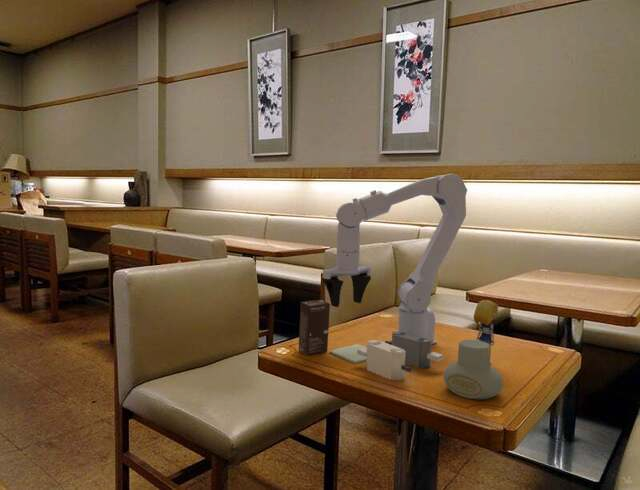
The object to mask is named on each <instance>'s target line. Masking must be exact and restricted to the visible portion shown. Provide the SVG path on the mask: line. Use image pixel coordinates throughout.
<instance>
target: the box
mask: <svg viewBox="0 0 640 490" xmlns="http://www.w3.org/2000/svg"><path fill="white" fill-rule="evenodd" d="M299 308H300V311H299V330H298V333H299V334H298V351H299V352H301V353H302V354H304V355H306V356H309V355H313V354H319V353H325V352H328V345H329V344H328V343H329V328H330V310H331V309H330V308H331V303H330V302H327V301H325V300H322V299H316V300H308V301H307V300H306V301H301V302H300V307H299Z"/></svg>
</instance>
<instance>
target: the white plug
mask: <svg viewBox="0 0 640 490" xmlns="http://www.w3.org/2000/svg"><path fill="white" fill-rule="evenodd" d="M366 347H367V349H366V348H361V349H357V354H359V355H361V356H364V357H366V361H365V362H366V363H365V369H366V370H367V371H368V372H370V371H371V372H370V373H373V374H375V373H376V375H377V376H380V375H381V377H383V378H385V379H387V378H388V379H387V380H390V381H395V380H398V381H399V380H401V381H404V380H405V372H408V373H412V370H413V368H412V367H409V366H407V365H406V364H405V350H404V349H401V348H398V347H396V346H393V345H390V344H387V343H385V341H381V340H376V339H372V340H371V339H370V340H368V341H366ZM391 379H392V380H391ZM403 379H404V380H403ZM398 381H397V382H398ZM399 382H400V381H399Z"/></svg>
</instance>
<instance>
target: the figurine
mask: <svg viewBox="0 0 640 490" xmlns="http://www.w3.org/2000/svg"><path fill="white" fill-rule="evenodd" d="M498 312H499V305H497V303H495V302H494V301H492V300H489V299H482V300H480V301H479V302H478V303H477V305H476V307H475V310H474V312H473V313H474V314H473V320H474V322H475V324H477V325H479V326H478V328H479V329H478V333H477V336H476V339H475V340H478V341H482V342H485V343H488V344H489V345H490V346H491V347H492V346H494V345H495V337H494V325H493V323H492V320H493V319H494V318H495V315H497V314H498ZM490 366H492V363H491V362H490Z"/></svg>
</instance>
